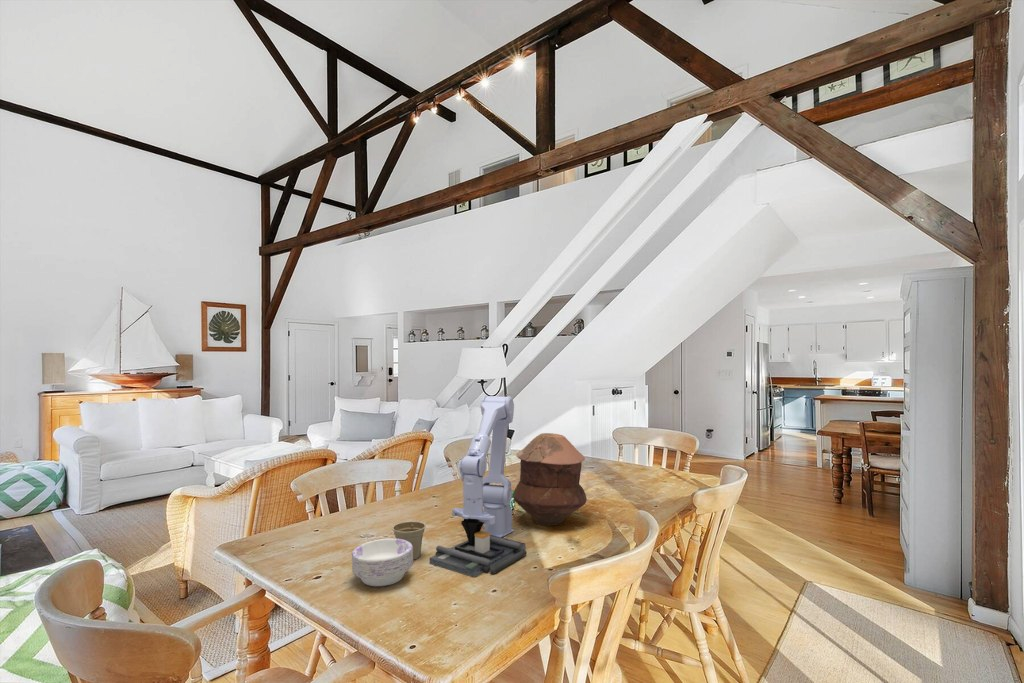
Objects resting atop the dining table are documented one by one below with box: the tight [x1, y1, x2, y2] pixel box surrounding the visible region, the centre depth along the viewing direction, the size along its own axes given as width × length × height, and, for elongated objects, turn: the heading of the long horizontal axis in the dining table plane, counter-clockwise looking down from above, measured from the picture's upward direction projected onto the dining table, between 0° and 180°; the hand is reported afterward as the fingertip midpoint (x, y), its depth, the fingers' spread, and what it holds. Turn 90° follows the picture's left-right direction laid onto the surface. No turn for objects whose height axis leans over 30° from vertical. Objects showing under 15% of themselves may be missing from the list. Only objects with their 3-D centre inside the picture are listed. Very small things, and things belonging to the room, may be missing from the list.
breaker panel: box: [429, 535, 527, 578], centre depth 145 cm, size 24×16×2 cm, turn 145°
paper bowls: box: [351, 538, 414, 587], centre depth 130 cm, size 15×15×8 cm
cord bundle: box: [434, 545, 527, 575], centre depth 144 cm, size 16×21×3 cm
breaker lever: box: [474, 529, 490, 553], centre depth 145 cm, size 3×3×5 cm
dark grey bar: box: [490, 536, 521, 554], centre depth 152 cm, size 2×19×3 cm, turn 55°
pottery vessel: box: [512, 432, 588, 527], centre depth 176 cm, size 26×26×30 cm
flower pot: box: [391, 520, 427, 560], centre depth 145 cm, size 9×9×9 cm
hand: (473, 544), depth 147 cm, fingers closed
